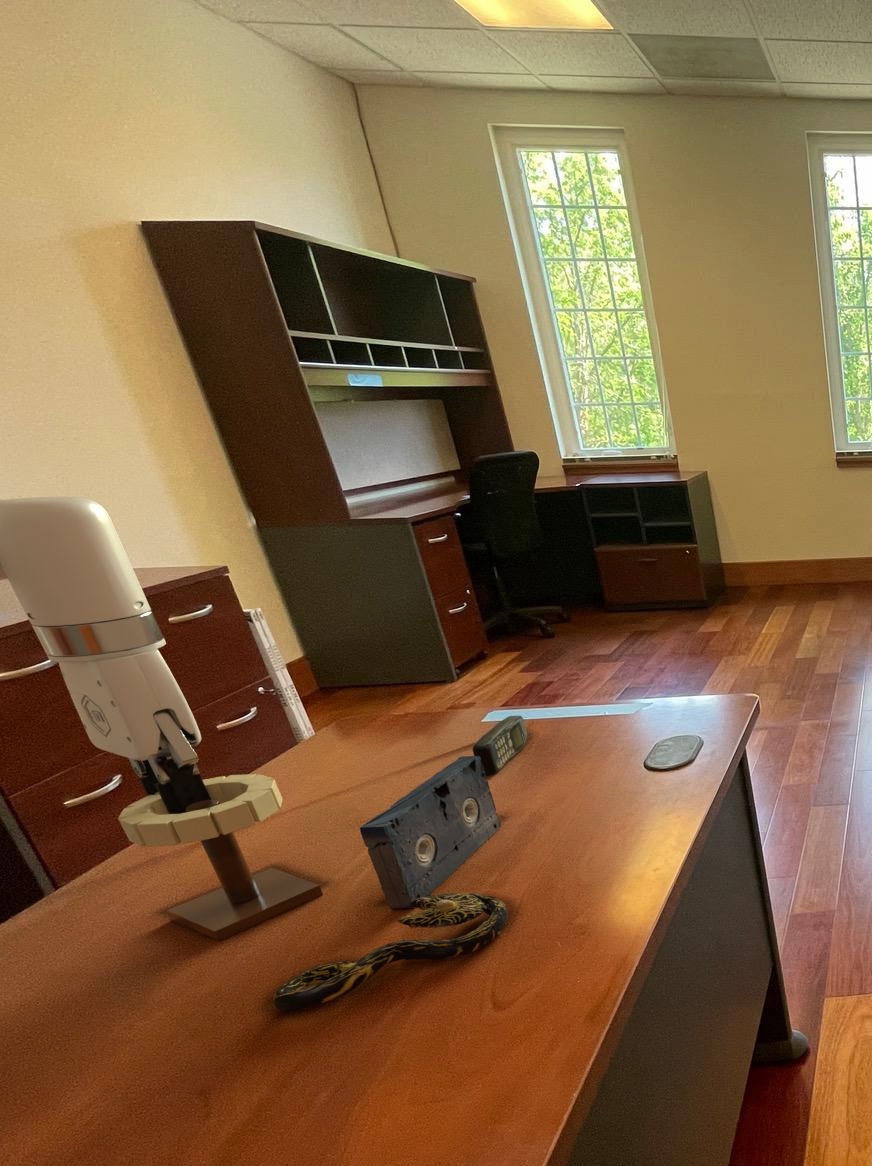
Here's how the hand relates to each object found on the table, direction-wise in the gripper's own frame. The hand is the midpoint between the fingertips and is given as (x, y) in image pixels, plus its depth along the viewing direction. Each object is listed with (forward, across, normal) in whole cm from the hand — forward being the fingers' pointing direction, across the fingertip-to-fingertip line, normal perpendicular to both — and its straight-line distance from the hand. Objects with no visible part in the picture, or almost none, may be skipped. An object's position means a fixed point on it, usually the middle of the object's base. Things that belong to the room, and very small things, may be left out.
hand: (185, 809), depth 81 cm
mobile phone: (+11, -8, +38) cm, 40 cm away
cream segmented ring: (0, +4, 0) cm, 4 cm away
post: (+11, +4, 0) cm, 12 cm away
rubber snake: (+11, +28, +1) cm, 30 cm away
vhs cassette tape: (+11, +15, +14) cm, 23 cm away
